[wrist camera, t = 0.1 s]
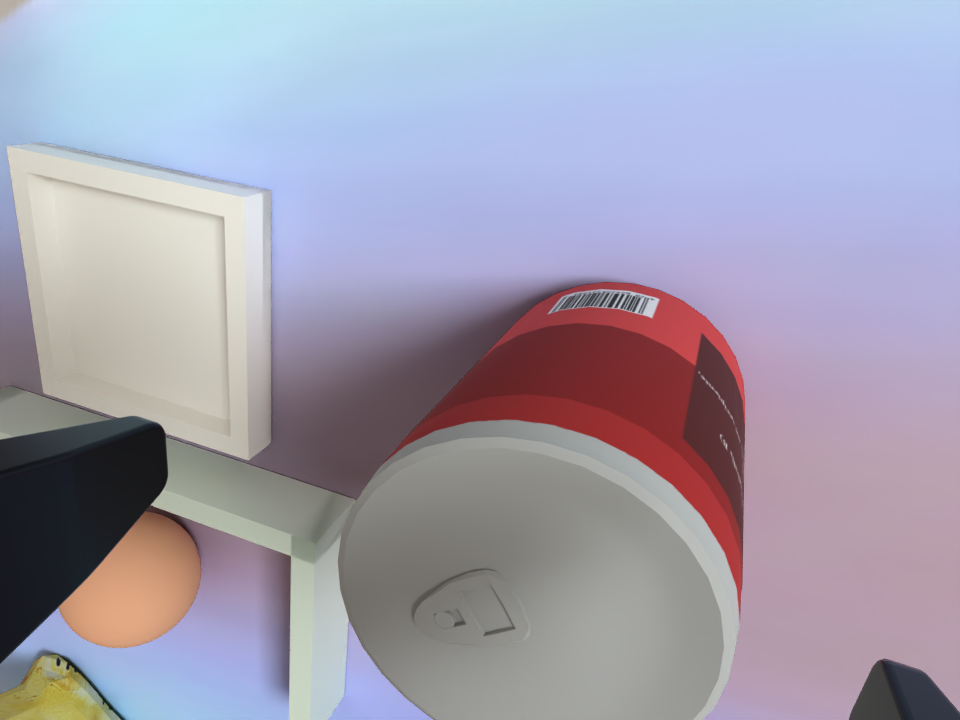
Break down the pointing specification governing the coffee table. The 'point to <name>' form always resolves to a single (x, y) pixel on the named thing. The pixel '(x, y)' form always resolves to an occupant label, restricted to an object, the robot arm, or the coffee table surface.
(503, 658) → the canned food
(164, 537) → the ball
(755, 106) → the coffee table surface
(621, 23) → the coffee table surface
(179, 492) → the corral
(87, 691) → the chocolate bunny
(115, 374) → the dish
